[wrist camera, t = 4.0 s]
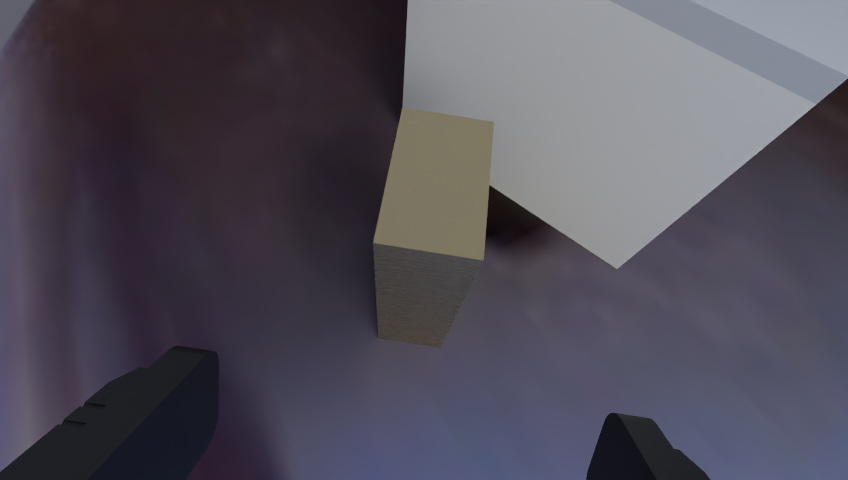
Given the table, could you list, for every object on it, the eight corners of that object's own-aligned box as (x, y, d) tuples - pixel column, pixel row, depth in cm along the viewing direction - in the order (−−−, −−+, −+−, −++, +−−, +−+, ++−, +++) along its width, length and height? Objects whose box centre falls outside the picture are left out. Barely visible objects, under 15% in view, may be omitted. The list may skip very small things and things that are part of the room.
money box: (714, 106, 30) (924, -120, 18) (616, 269, 23) (849, 76, 11) (532, 9, 33) (610, -234, 21) (401, 126, 26) (414, -132, 15)
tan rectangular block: (451, 254, 23) (494, 121, 14) (440, 347, 20) (483, 260, 11) (395, 245, 23) (402, 107, 14) (378, 338, 20) (373, 242, 11)
